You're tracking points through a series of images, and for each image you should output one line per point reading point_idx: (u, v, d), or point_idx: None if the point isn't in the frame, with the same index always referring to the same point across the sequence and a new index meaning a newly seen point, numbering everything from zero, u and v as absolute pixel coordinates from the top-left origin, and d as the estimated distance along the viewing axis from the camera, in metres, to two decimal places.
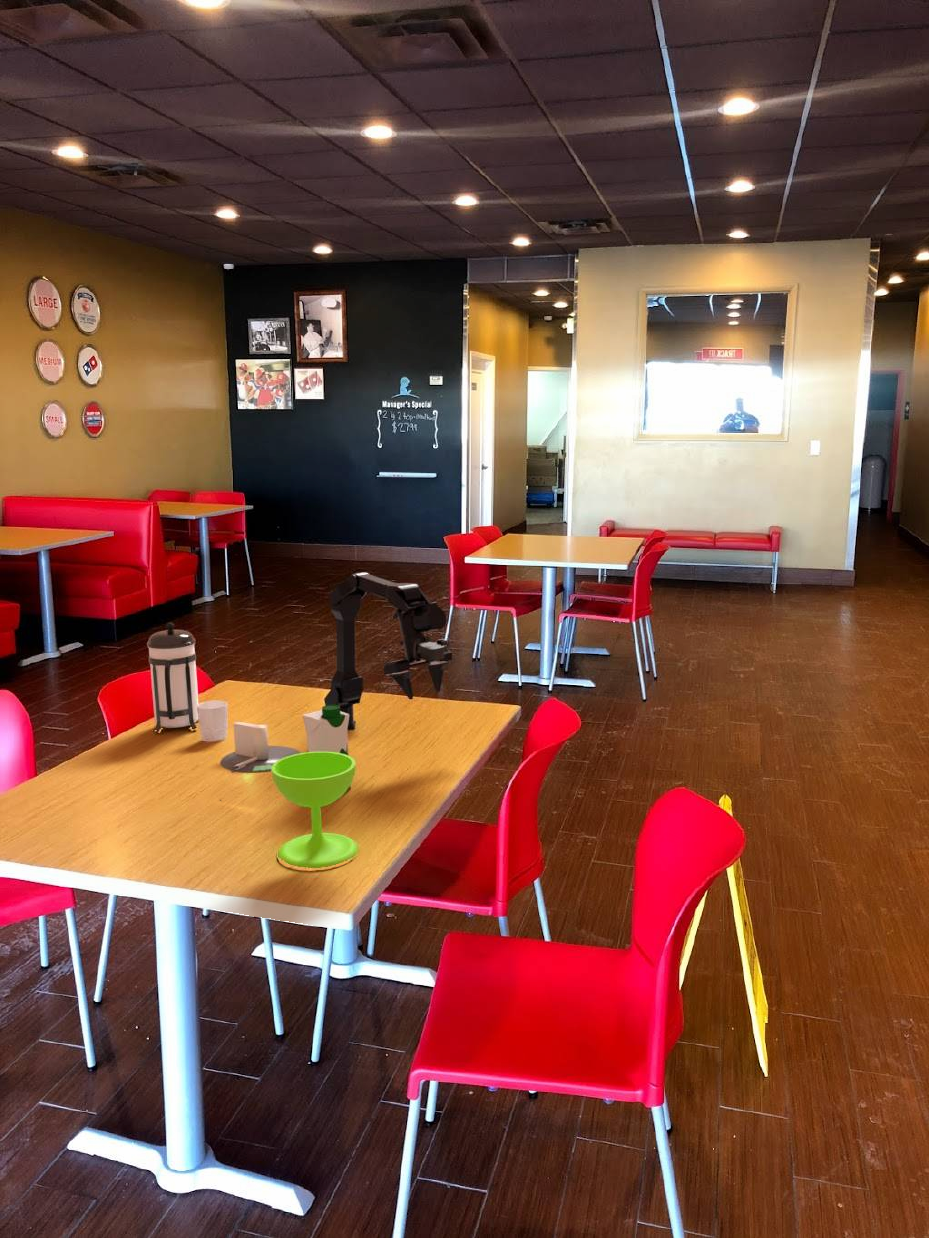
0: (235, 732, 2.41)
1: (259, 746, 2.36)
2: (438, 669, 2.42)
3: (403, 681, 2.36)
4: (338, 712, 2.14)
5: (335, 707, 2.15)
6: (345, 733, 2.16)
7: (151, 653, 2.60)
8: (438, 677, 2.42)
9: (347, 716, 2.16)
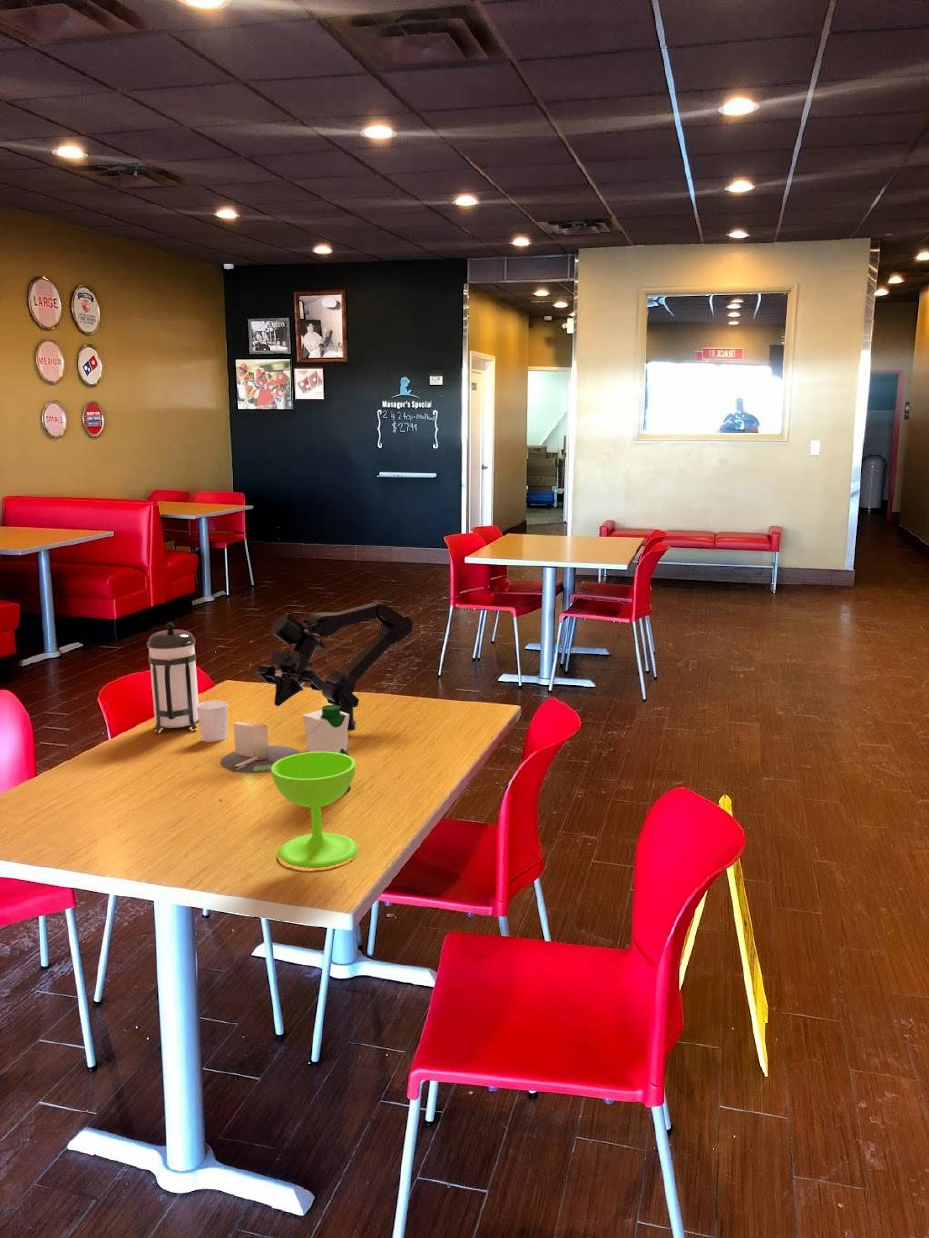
0: (235, 732, 2.41)
1: (259, 746, 2.36)
2: None
3: None
4: (338, 712, 2.14)
5: (335, 707, 2.15)
6: (345, 733, 2.16)
7: (151, 653, 2.60)
8: None
9: (347, 716, 2.16)
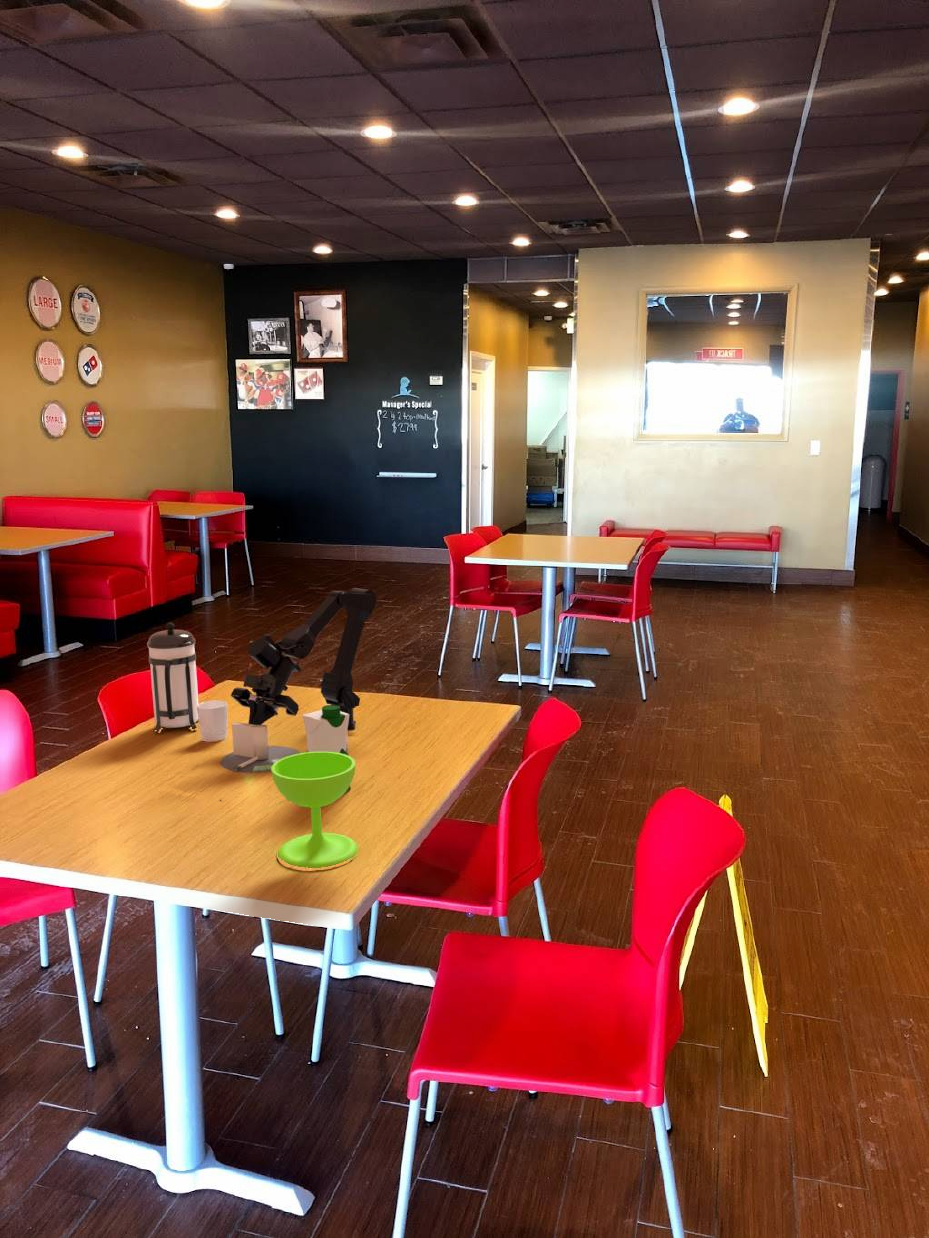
0: (234, 733, 2.40)
1: (259, 746, 2.36)
2: None
3: None
4: (338, 712, 2.14)
5: (335, 707, 2.15)
6: (345, 733, 2.16)
7: (151, 653, 2.60)
8: None
9: (347, 716, 2.16)
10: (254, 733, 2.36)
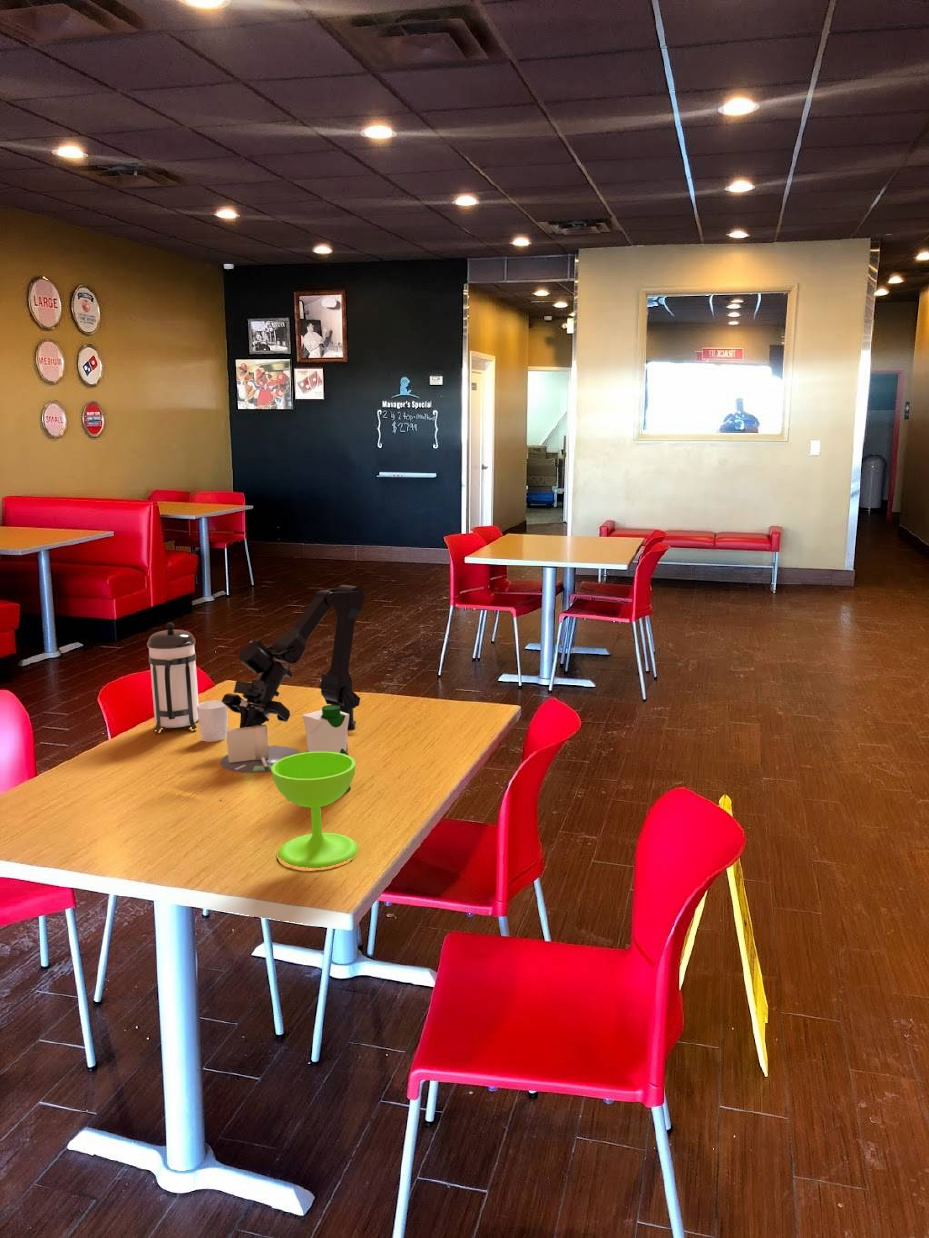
0: (230, 740, 2.35)
1: (265, 745, 2.37)
2: None
3: None
4: (338, 712, 2.14)
5: (335, 707, 2.14)
6: (345, 733, 2.16)
7: (151, 653, 2.60)
8: None
9: (347, 716, 2.16)
10: (259, 733, 2.36)
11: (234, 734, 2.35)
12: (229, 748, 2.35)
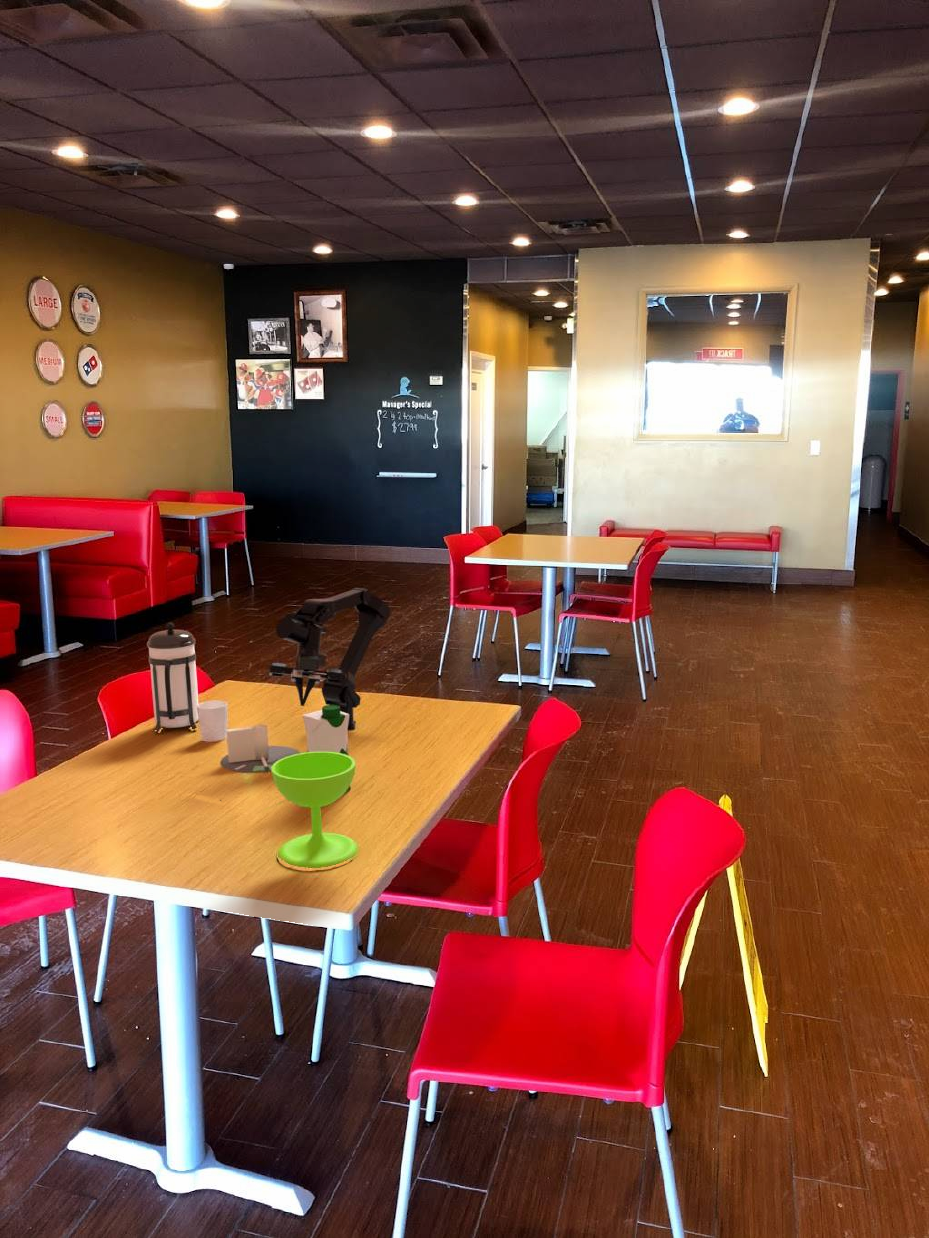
0: (230, 740, 2.34)
1: (265, 745, 2.37)
2: (307, 684, 2.48)
3: None
4: (338, 712, 2.14)
5: (335, 707, 2.15)
6: (345, 733, 2.16)
7: (151, 653, 2.60)
8: (305, 691, 2.48)
9: (347, 716, 2.16)
10: (259, 733, 2.36)
11: (234, 734, 2.35)
12: (229, 748, 2.35)
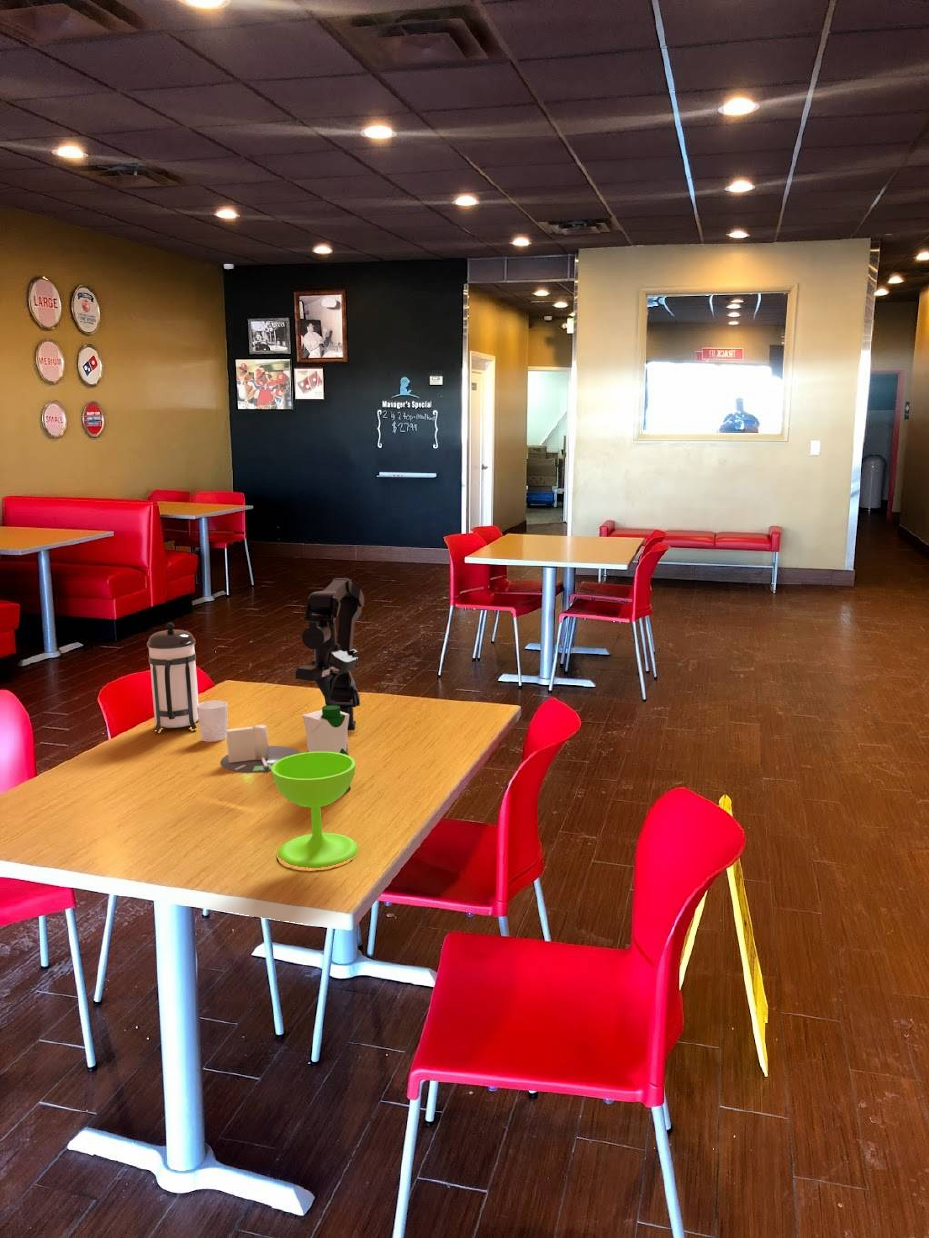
0: (230, 740, 2.34)
1: (265, 745, 2.37)
2: (331, 678, 2.49)
3: (322, 682, 2.49)
4: (338, 712, 2.14)
5: (335, 707, 2.14)
6: (345, 733, 2.16)
7: (151, 653, 2.60)
8: (330, 685, 2.50)
9: (347, 716, 2.16)
10: (259, 733, 2.36)
11: (234, 734, 2.35)
12: (229, 748, 2.35)
